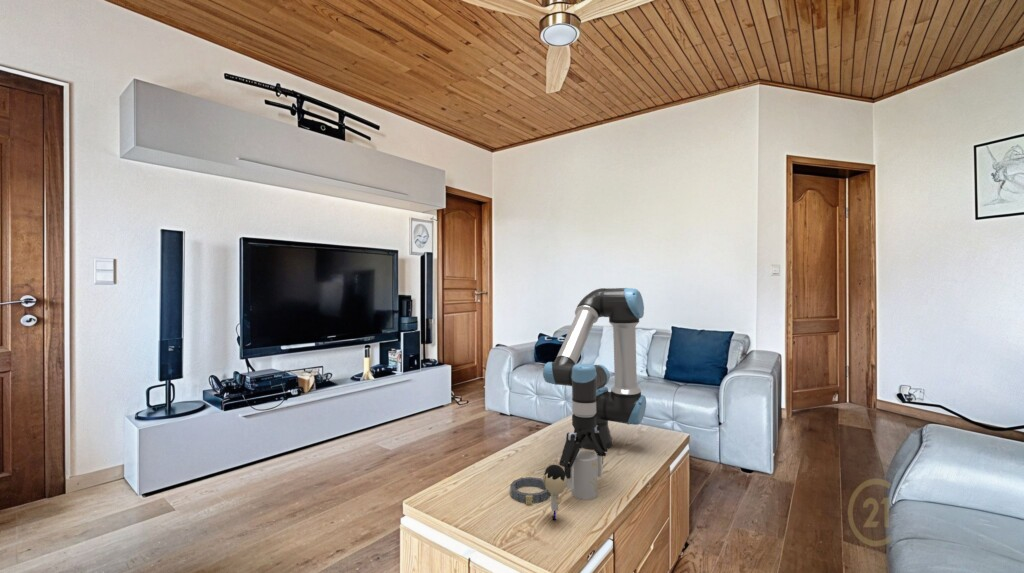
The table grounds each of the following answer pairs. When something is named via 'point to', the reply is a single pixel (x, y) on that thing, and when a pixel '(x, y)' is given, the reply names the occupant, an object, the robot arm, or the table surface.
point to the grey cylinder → (585, 475)
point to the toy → (555, 485)
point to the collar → (527, 497)
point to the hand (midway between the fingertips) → (584, 481)
